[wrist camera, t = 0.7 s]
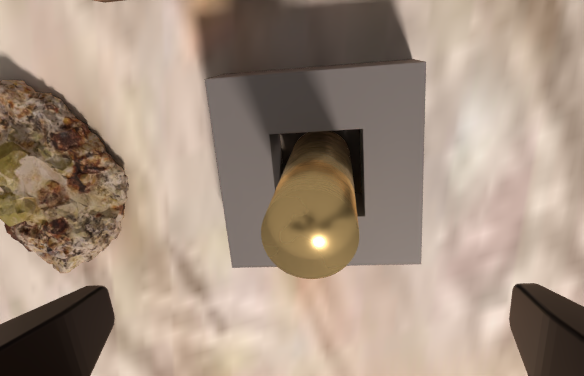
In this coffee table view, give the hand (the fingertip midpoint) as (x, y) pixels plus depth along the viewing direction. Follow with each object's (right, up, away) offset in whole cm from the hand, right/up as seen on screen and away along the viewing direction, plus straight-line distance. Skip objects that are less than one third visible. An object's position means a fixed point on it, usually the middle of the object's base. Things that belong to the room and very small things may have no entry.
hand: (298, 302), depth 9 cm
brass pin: (+1, +4, +12) cm, 13 cm away
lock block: (+1, +4, +12) cm, 13 cm away
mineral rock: (-13, +4, +14) cm, 20 cm away
